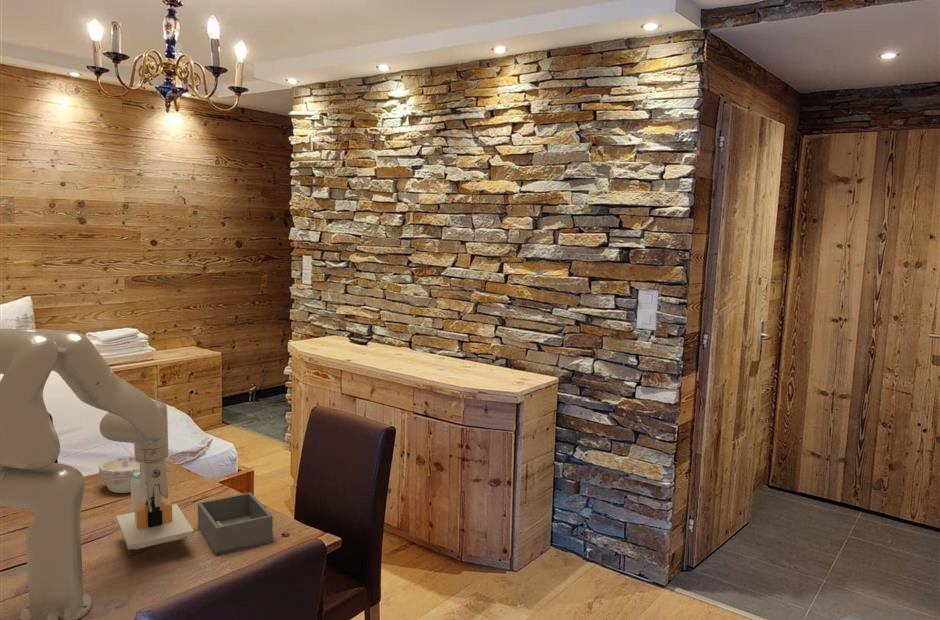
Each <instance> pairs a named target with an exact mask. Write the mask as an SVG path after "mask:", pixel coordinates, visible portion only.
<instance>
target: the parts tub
mask: <svg viewBox="0 0 940 620" xmlns="http://www.w3.org/2000/svg"><path fill="white" fill-rule="evenodd" d="M273 517H274V516H273V514H272V513H270V511H269V510H268V509H266V508H265V506H264V505H263V504H262V503H261V502H260V501H259V499H257V498H256V497H255V495H254V494H253V493H252V492H245V493H240V494H235V495H230V496H225V497H219V498H215V499H209V500H205V501H200V502H197V528H198V530H199V531H201V532H200V533H201V535H202V536H203V538H204V539H205V541H206V542H207V544H208V545H209V547H210V548H211V549H212V551H213V553H214V554H215V556H220V555H224V554H229V553H232V552H236V551H241V550H245V549H249V548H253V547H257V546H261V545H262V546H263V545H265V544H270V543H273V540H274V539H273V537H274V536H273V534H274V533H273V532H274V531H273V529H274V528H273V527H274V526H273V524H274V523H273V522H274V520H273Z"/></svg>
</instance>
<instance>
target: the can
mask: <svg viewBox="0 0 940 620" xmlns="http://www.w3.org/2000/svg"><path fill="white" fill-rule="evenodd" d="M130 499H131V500H130V505H131V507H130V509H131V512H130V513H133V512H135V507H138V506H143V505H145V497H144V495H143V493H142V491H141V485H140V470H139V471H137V472H135V473H134V474H133V477H132V479H131V492H130Z"/></svg>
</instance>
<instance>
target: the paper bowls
mask: <svg viewBox="0 0 940 620" xmlns="http://www.w3.org/2000/svg"><path fill="white" fill-rule="evenodd" d="M139 470H140V463H139V462H137V461H135V455H126V456H120V457H115V458H111V459H108V460H106V461H103V462H102V463H101V464H99V467H98V481H99V483H100V485H102V486H105V487H107V489H108V491H110V492H113V493H116V494H129V493H130V494H131V479H132V477H133V474H134V473H135V472H137V471H139Z"/></svg>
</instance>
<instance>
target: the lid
mask: <svg viewBox="0 0 940 620" xmlns="http://www.w3.org/2000/svg"><path fill="white" fill-rule="evenodd" d="M161 503H162V523H163V524H162V525H160V526H155V527H151V528H149V527H148V511H149V504H148V505H143V506H138V507H135V512H133V513H132V512H129V513H125V514H119V515H116V516H115V521H116V523H117V526H118V528H119V531H120V533H121V535H122V538H123V540H124V543H125V545H126V548H127V550H132V549H133V550H134V551H135V550H139V549H143V548H147V547H151V546H156V545H161V544H165V543H169V542H173V541H177V540H183V539H187V538H188V536H192V535H194V529H193V527H192V526H191V524H190V522H189V521H188V520H187V517H185V515H184V513H183V512H182V510H181V509H180V507H179V505H178V503H174V504H173V503H172V502H171V500H169V499H168V500H165V501H161ZM153 504H154V503H153Z"/></svg>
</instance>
